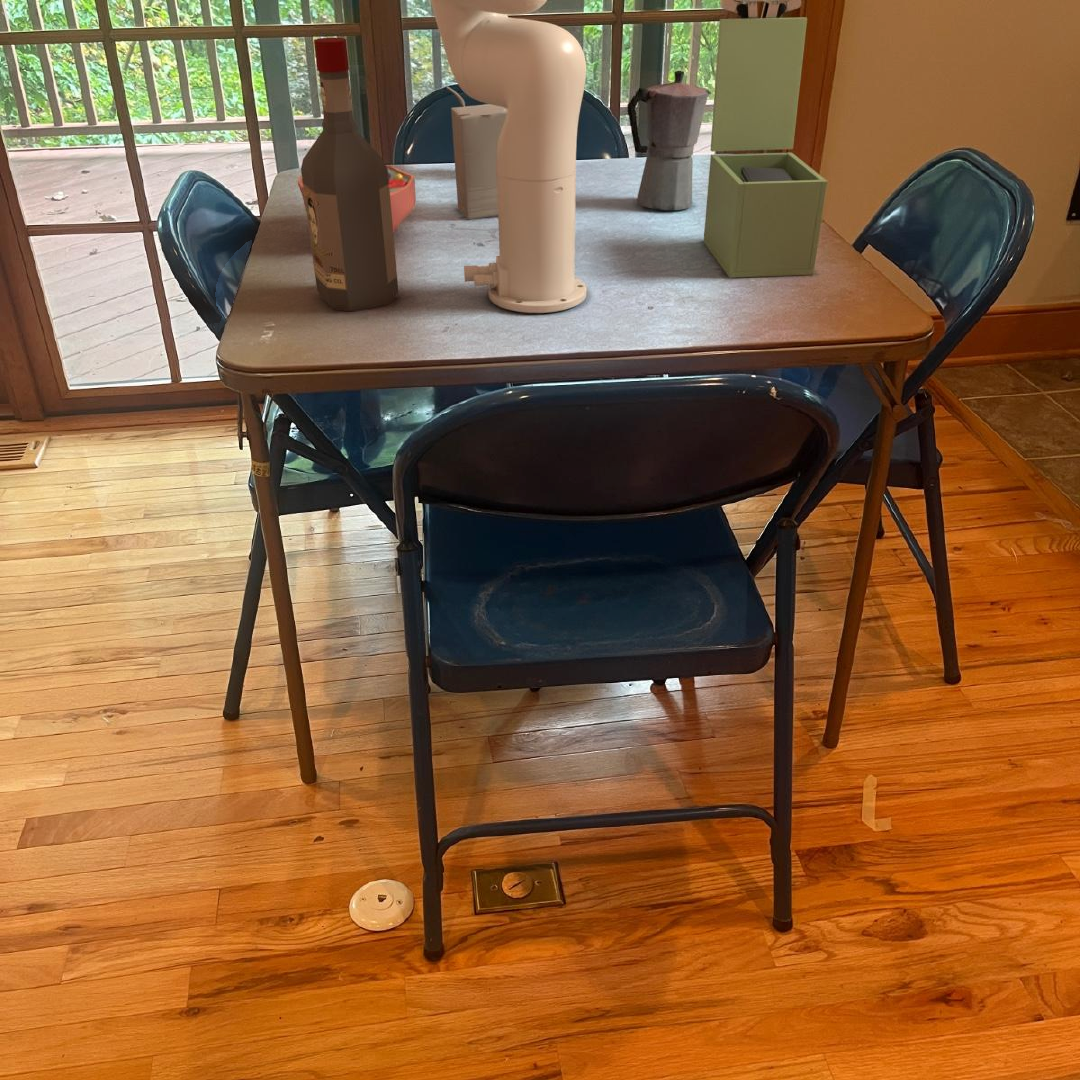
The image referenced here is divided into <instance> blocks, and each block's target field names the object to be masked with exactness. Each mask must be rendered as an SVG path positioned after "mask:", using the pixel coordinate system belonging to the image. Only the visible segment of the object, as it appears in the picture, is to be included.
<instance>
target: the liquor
mask: <svg viewBox="0 0 1080 1080" xmlns="http://www.w3.org/2000/svg"><path fill="white" fill-rule="evenodd" d="M313 46H314V54H315V62H316V71H317V72H318V76H319V77H318V78H319V85H320V86H319V87H320V96H321V103H322V115H323V120H322V123H321V127H322V131H321V132H320V134H319V135H318V137H317V138H316V139H315V141H314V142H313V144H312V145H311V147H310V148H309V150H308V151H307V153H306V154H305V156H304V157H303V159H302V161H301V162H302V163H301V167H300V173H301V175H302V182H303V189H304V197H305V204H306V208H305V212H306V211H307V212H306V218H307V226H308V233H309V241H310V247H311V249H310V250H311V257H312V262H313V269H314V278H315V285H316V291H317V292H318V294H319V295H320V297H321V298H322V300H324V302H325V303H326V304H327V305H328V306H329V307H330V308H331V309H332V310H337V311H345V312H355V311H361V310H367V309H374V308H378V307H384V306H387V305H389V304H390V303H392V301H394V300H395V299H396V298H397V295H398V293H399V283H398V270H397V259H396V250H395V249H396V248H395V237H394V235H395V234H394V233H393V224H392V212H391V201H390V189H389V178H388V169H387V167H386V166H387V164H386V162H385V160H384V159H383V157H381V155H380V154H379V153H378V152H377V151H376V150H375V149H374V147H373V146H372V145H371V144H370V143H369V142H368V141H367V140H366V139H365V137H363V135H362V134H361V133H360V132H359V131H358V130H357V129H358V128H357V122H356V120H355V118H354V110H353V106H352V104H353V103H352V96H351V95H352V93H351V85H350V77H349V70H350V62H349V55H348V45H347V39H346V38H344V37H321V38H315V39H313ZM305 204H304V205H305Z"/></svg>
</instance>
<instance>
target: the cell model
mask: <svg viewBox="0 0 1080 1080" xmlns="http://www.w3.org/2000/svg"><path fill="white" fill-rule="evenodd" d="M386 167H387V169H388V178H389V189H390V201H391V212H392V224H393V234H395V232H396V231H397V229H398V228H399V226H400V225H401V224H402V222H403V221H404V220H405V219H406V218H407V217H408V216H410V214H411V213H412V212H413V210H414V209H415V206H416V203H417V195H416V181H415V180H416V179H415V175H413V174H412V173H411V174H410V173H408V172H406V171H404V170H401V169H400V168H398V167H396V166H395V167H394V166H390V165H386ZM296 183H297V186H298V188H299V191H300V193H301V196H302V201H303V204H304V208H305V209H306V204H305V197H304V189H303V182H302V174H301V175H299V177H298V179H297V180H296ZM305 212H306V213H307V211H306V210H305Z"/></svg>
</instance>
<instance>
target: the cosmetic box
mask: <svg viewBox="0 0 1080 1080" xmlns="http://www.w3.org/2000/svg"><path fill="white" fill-rule="evenodd" d="M450 111H451V125H452V126H451V128H452V143H453V155H454V156H453V158H454V170H455V172H454V173H455V184H456V185H455V187H456V200H457V209H458V210H459V212H460V213H461V214H462V215H463V216H464V218H465V219H467V220H476V219H484V218H490V217H498V189H497V164H496V155H497V145H498V140H499V136H500V133H501V130H502V128H503V125H504V122H505V119H506V116H507V111H508V109H506V108H504V107H500V106H496V105H492V104H487V103H484V104H477V105H467V106H466V105H465V107H462V106H456V107H451V109H450Z"/></svg>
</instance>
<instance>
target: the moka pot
mask: <svg viewBox="0 0 1080 1080" xmlns="http://www.w3.org/2000/svg"><path fill="white" fill-rule="evenodd" d="M684 75H685V72H684V71H682V70H675V71H674V81H672V82H668V83H662V84H657V85H653V86H649V87H647V88H643V87H639V88H638V90H636V92H635V95H633V96H632V97H631V99H630V100H629V102H628V104H627V107H626V108H627V115H628V117H629V118H628V119H629V125H630V131H631V137H632V143H633V148H634V152H635V153H640V154H644V153H645V154H646V153H647V156H646V159H645V163H644V167H643V172H642V175H641V180H640V185H639V189H638V193H637V198H636V201H637V203H638V204H639V205H641V206H642V207H645V208H649V209H653V210H659V211H660V210H662V211H681V210H687V209H689V208H690V207H692V204H693V163H694V160H693V157H692V156H693V155H694V150H695V145H696V144H697V143H698V140H699V136H700V131H701V127H702V123H703V118H704V115H705V110H706V106H707V101H708V98H709V96H710V95H711V94H712V92H711V90H710V89H708V88H706V87H701V86H696V85H691V84H688V83H685V82H683V79H684ZM640 101H641V102H643V103H646V138H647V141H648V145H641V144H642V143H641V140H640V137H639V127H638V115H637V110H636V107H637V105H638V103H639V102H640Z"/></svg>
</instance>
